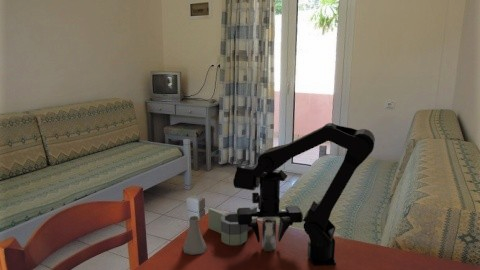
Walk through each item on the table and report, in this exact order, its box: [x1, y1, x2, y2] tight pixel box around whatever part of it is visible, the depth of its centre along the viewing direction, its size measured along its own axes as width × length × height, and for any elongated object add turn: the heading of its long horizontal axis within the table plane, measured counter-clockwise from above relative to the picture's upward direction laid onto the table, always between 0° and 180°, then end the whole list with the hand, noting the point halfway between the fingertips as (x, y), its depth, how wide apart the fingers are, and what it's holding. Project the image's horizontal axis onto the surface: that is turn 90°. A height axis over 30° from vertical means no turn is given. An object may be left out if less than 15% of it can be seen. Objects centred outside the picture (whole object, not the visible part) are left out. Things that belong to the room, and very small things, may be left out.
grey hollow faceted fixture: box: [221, 205, 258, 235], centre depth 113 cm, size 15×8×7 cm, turn 139°
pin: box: [261, 218, 277, 252], centre depth 105 cm, size 4×4×9 cm
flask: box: [182, 215, 208, 256], centre depth 104 cm, size 7×7×10 cm
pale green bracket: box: [207, 207, 248, 246], centre depth 112 cm, size 15×8×7 cm, turn 49°
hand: (268, 241), depth 105 cm, fingers open, 6 cm apart
